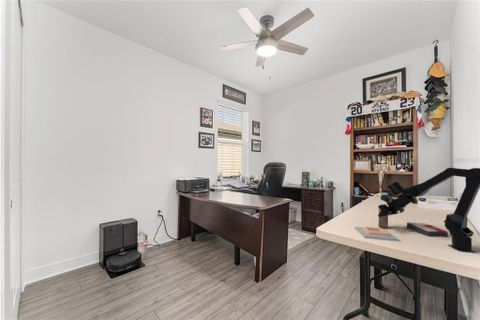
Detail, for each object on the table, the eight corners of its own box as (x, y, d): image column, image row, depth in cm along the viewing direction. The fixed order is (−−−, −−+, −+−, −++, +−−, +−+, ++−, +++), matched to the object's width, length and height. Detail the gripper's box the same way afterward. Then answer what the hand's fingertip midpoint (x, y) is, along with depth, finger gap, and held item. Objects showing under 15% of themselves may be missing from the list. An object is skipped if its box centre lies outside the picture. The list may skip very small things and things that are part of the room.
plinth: (399, 241, 101) (399, 236, 101) (364, 237, 105) (364, 233, 105) (384, 231, 117) (384, 226, 117) (354, 228, 121) (354, 224, 121)
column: (389, 228, 121) (389, 207, 121) (380, 227, 122) (380, 206, 122) (385, 226, 125) (385, 205, 126) (377, 225, 126) (377, 205, 127)
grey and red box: (428, 230, 110) (406, 221, 125) (428, 238, 110) (406, 228, 125) (448, 231, 109) (424, 221, 124) (448, 238, 109) (423, 228, 124)
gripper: (398, 190, 125) (379, 204, 134) (381, 191, 116) (362, 206, 126) (413, 205, 117) (392, 218, 127) (397, 207, 109) (375, 222, 119)
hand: (380, 216), depth 125 cm, fingers closed on column, 5 cm apart
